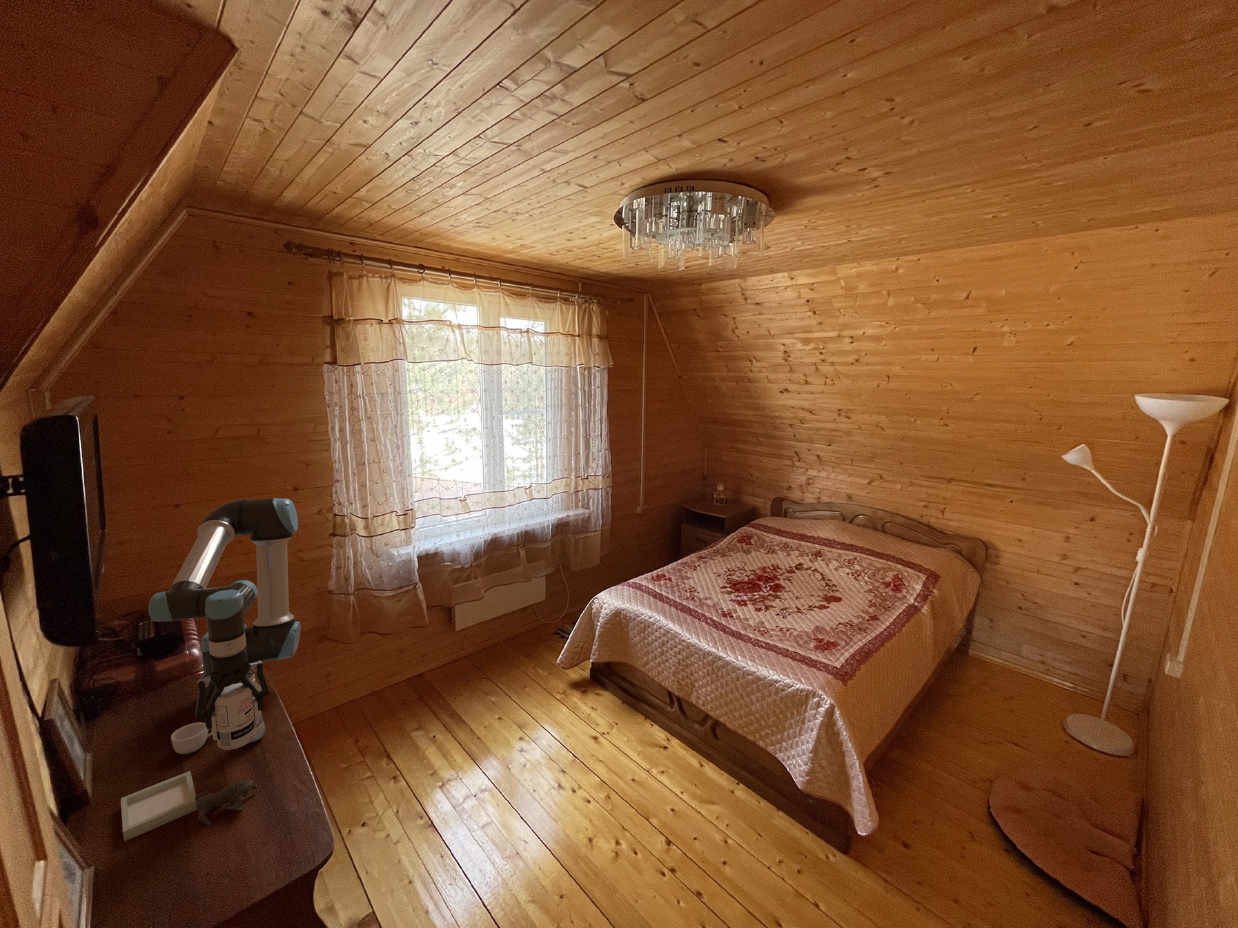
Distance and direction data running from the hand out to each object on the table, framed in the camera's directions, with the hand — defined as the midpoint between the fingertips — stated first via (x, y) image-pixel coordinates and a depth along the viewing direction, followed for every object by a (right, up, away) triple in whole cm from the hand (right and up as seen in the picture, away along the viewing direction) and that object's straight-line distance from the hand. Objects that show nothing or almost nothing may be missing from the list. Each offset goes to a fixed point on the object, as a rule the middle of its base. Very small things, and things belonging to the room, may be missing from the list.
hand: (236, 729), depth 135 cm
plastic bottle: (-5, -10, +13) cm, 17 cm away
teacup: (-19, -10, +10) cm, 23 cm away
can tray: (-10, -13, -11) cm, 20 cm away
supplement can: (0, -3, +1) cm, 4 cm away
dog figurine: (+6, -14, -11) cm, 19 cm away
